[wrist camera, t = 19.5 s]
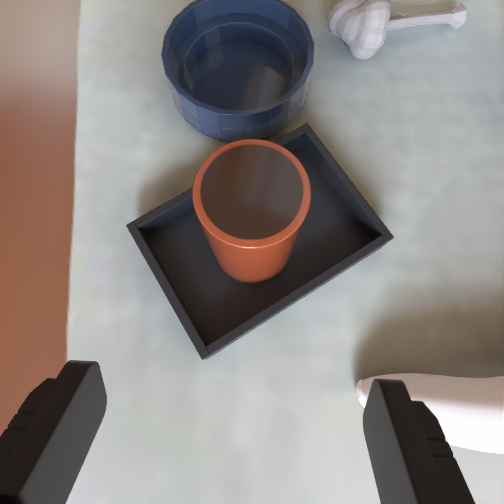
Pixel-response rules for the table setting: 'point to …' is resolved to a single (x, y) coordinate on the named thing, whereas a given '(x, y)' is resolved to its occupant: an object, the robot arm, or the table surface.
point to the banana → (456, 406)
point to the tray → (277, 288)
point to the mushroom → (380, 23)
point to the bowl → (238, 66)
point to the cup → (252, 207)
